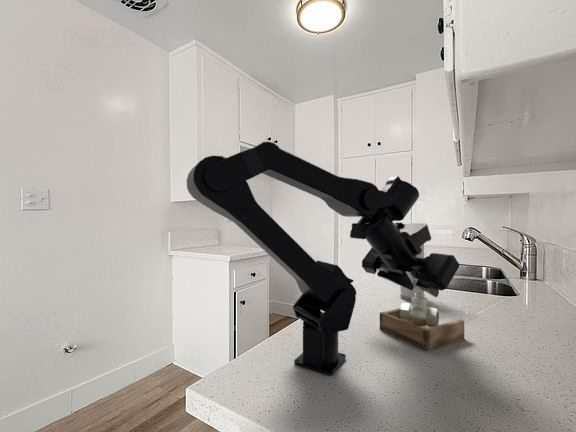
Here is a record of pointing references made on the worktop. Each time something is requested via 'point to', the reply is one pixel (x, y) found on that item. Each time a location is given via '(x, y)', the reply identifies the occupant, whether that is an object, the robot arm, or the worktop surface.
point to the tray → (421, 331)
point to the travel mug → (408, 293)
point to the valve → (419, 308)
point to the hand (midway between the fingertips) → (424, 291)
